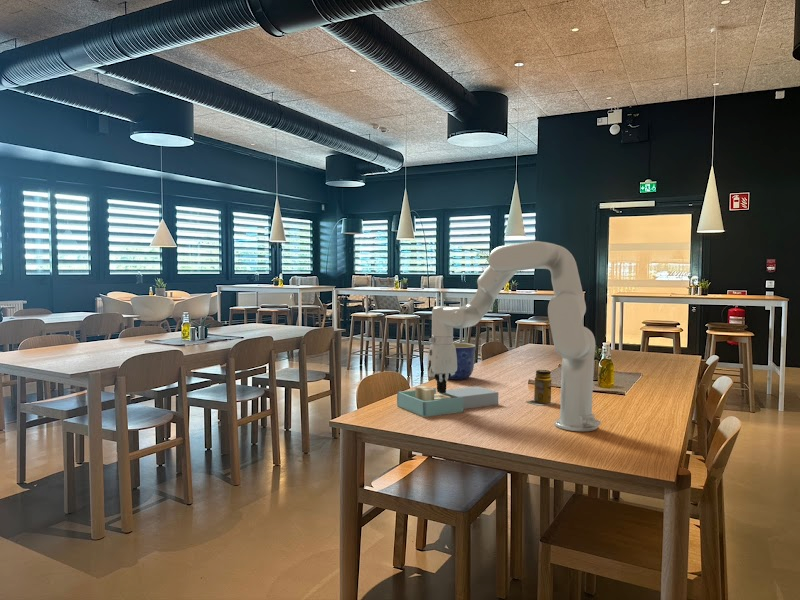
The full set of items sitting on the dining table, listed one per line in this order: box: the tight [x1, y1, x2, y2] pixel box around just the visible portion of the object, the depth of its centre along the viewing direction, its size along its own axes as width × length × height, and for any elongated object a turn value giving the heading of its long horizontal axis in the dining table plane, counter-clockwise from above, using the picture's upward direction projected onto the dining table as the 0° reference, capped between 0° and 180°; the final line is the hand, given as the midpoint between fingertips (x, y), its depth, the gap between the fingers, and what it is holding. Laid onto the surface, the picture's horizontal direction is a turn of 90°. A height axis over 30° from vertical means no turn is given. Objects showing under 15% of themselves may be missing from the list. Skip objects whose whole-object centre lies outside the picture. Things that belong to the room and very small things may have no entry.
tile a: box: [434, 393, 451, 400], centre depth 200 cm, size 7×7×4 cm
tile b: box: [414, 385, 434, 401], centre depth 197 cm, size 7×7×4 cm
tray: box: [396, 387, 464, 418], centre depth 198 cm, size 18×16×5 cm
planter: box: [448, 342, 476, 381], centre depth 258 cm, size 17×17×15 cm
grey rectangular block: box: [438, 386, 499, 410], centre depth 207 cm, size 12×18×4 cm, turn 120°
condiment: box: [525, 369, 555, 406], centre depth 210 cm, size 7×8×12 cm
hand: (441, 392), depth 201 cm, fingers closed
